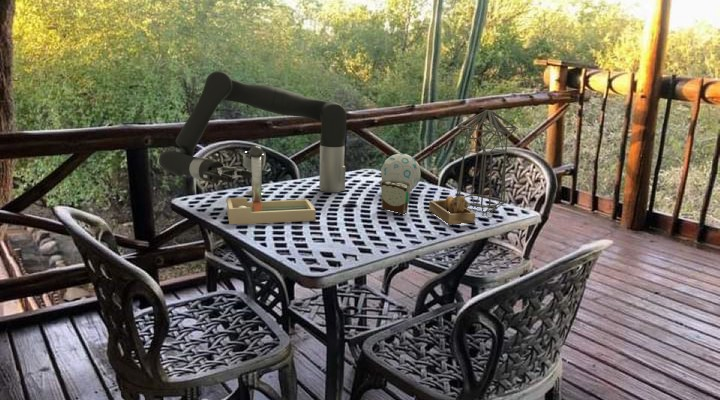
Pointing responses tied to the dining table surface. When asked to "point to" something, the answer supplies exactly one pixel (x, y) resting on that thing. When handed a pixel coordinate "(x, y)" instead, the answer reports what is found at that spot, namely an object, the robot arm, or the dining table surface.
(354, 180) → the dining table surface
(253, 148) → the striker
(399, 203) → the food container
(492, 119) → the geometric lantern
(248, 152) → the wine glass
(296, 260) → the dining table surface
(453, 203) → the lion figurine
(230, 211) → the tray
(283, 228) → the dining table surface
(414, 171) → the puzzle ball
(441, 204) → the figurine crate
